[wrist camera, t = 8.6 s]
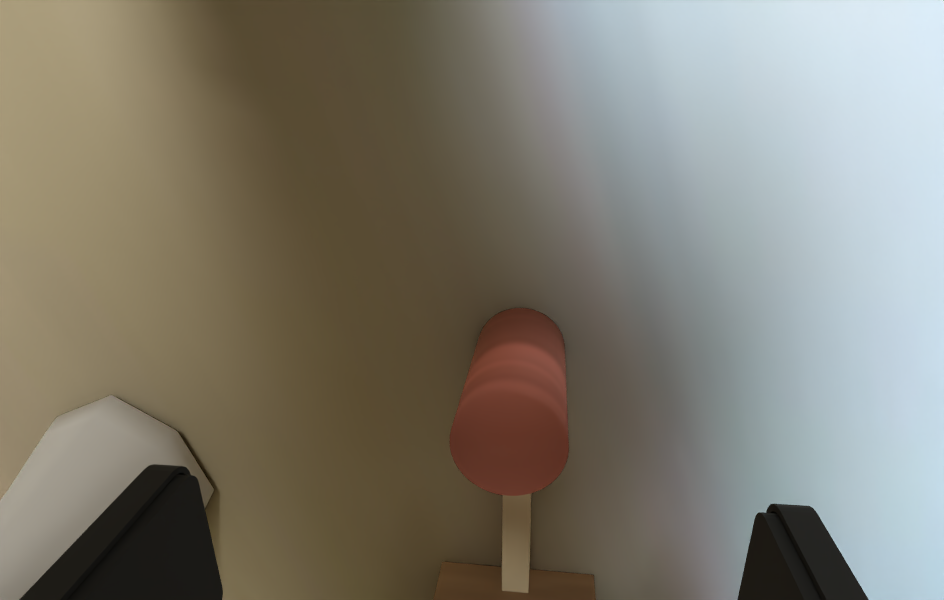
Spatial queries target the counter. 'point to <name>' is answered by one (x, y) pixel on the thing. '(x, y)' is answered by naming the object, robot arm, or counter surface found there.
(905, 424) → the counter surface
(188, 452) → the flask
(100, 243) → the counter surface
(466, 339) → the counter surface
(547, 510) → the counter surface
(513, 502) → the block
